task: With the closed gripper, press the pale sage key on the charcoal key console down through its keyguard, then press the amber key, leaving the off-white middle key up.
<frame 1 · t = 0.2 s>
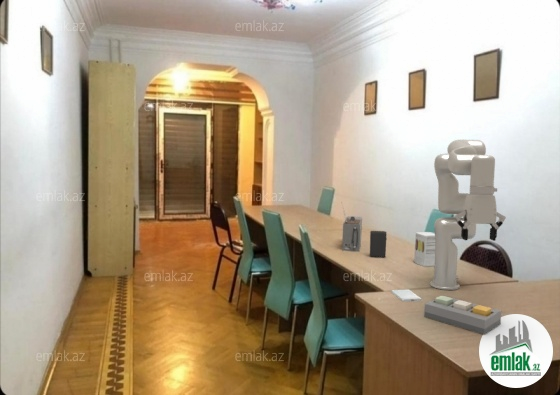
hand: (478, 239, 159), 30 cm above the table, tool pointing down, fingers open, 9 cm apart
middle key: (462, 306, 164), point 5 cm above the table, slide at 0.0 cm
amber key: (481, 311, 159), point 5 cm above the table, slide at 0.0 cm
supplement box: (426, 264, 246), on the table
card reader: (377, 257, 261), on the table
sage key: (444, 301, 169), point 5 cm above the table, slide at 0.0 cm
portable television: (351, 247, 286), on the table
hard drive: (406, 298, 191), on the table
key console: (461, 320, 165), on the table
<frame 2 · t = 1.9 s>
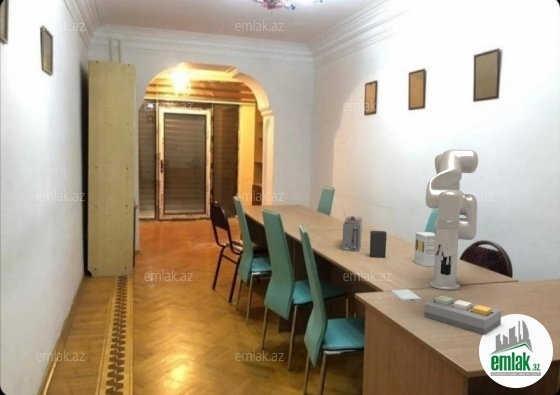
hand: (445, 274, 167), 16 cm above the table, tool pointing down, fingers closed
nothing on the table moved.
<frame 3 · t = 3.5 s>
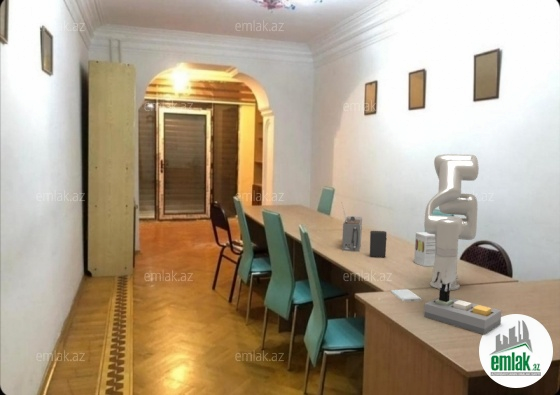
hand: (444, 300, 169), 6 cm above the table, tool pointing down, fingers closed
sage key: (443, 303, 169), point 4 cm above the table, slide at 0.9 cm, touching gripper
everything else where it was.
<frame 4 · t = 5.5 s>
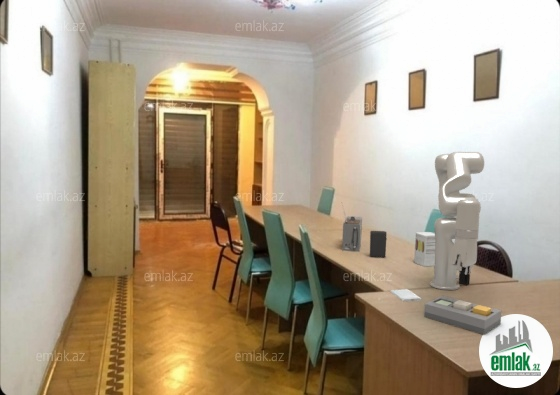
hand: (464, 284, 163), 14 cm above the table, tool pointing down, fingers closed
sage key: (443, 306, 169), point 3 cm above the table, slide at 1.8 cm
everything else where it was.
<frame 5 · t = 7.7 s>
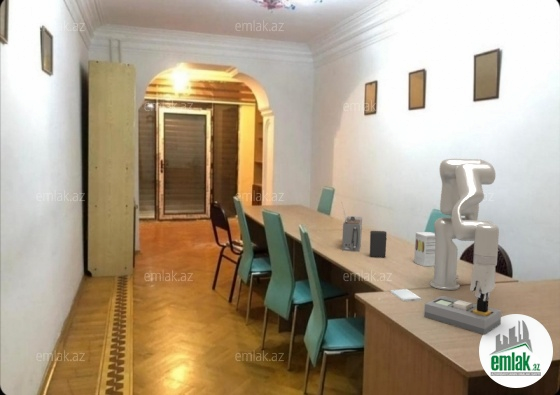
hand: (482, 310, 159), 6 cm above the table, tool pointing down, fingers closed
amber key: (481, 314, 159), point 4 cm above the table, slide at 1.0 cm, touching gripper
everything else where it was.
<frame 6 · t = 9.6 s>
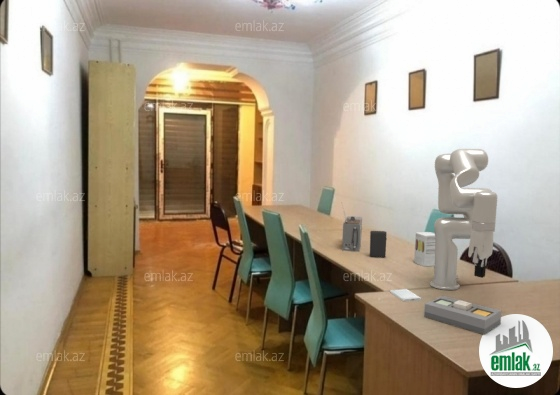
hand: (479, 276, 162), 17 cm above the table, tool pointing down, fingers closed
amber key: (481, 316, 159), point 3 cm above the table, slide at 1.8 cm
everything else where it was.
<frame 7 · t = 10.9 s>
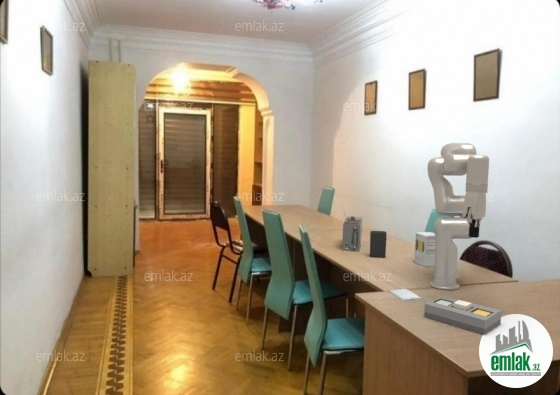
hand: (473, 236, 171), 29 cm above the table, tool pointing down, fingers closed
nothing on the table moved.
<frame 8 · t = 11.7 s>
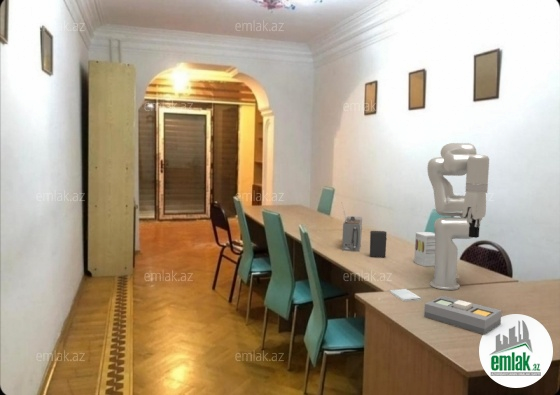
hand: (473, 236, 171), 29 cm above the table, tool pointing down, fingers closed
nothing on the table moved.
at the end: sage key slide at 1.8 cm; amber key slide at 1.8 cm; middle key slide at 0.0 cm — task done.
